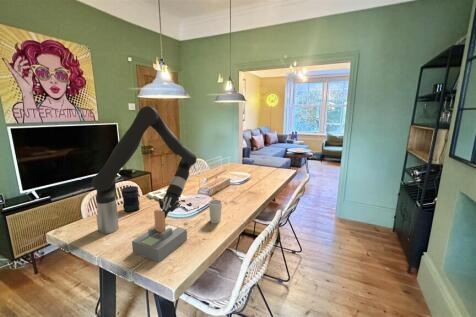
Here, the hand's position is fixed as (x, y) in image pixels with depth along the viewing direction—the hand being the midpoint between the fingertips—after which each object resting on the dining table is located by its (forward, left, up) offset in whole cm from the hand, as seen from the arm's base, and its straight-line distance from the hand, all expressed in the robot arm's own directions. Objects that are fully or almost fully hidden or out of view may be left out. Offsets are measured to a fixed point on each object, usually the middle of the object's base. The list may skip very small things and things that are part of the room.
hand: (162, 218), depth 112 cm
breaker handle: (-1, -1, -8) cm, 8 cm away
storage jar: (-41, +34, -14) cm, 55 cm away
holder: (-21, +53, -15) cm, 59 cm away
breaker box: (-1, -1, -14) cm, 14 cm away
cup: (+18, +30, -14) cm, 38 cm away
